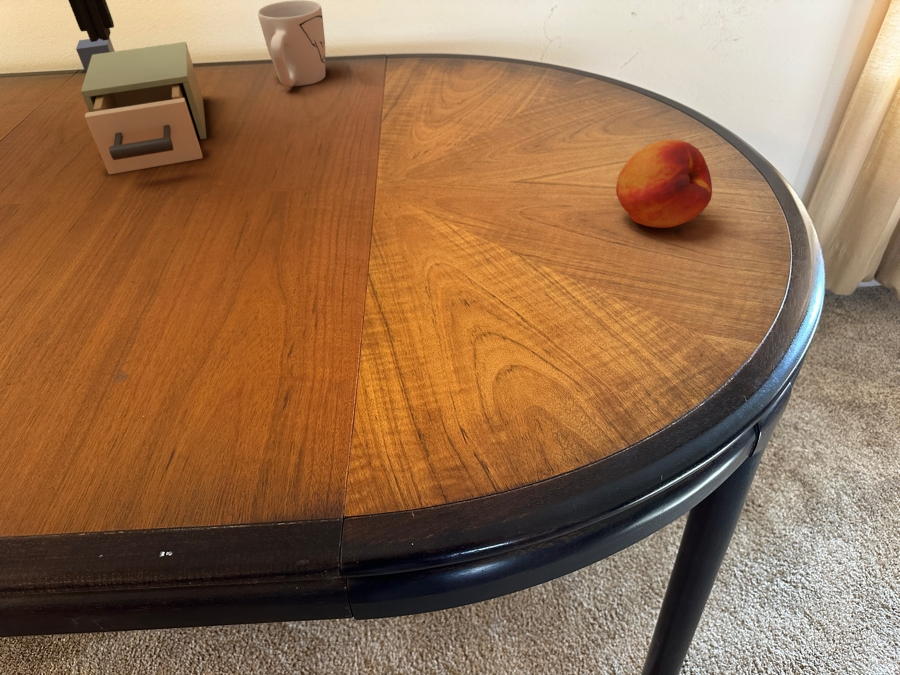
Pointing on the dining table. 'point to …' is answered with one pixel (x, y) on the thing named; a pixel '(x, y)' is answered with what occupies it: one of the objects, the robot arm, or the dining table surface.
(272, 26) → the mug
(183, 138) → the drawer
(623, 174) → the fruit
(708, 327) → the dining table surface
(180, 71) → the cabinet
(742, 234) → the dining table surface
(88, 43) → the block
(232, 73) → the dining table surface
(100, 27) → the robot arm
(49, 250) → the dining table surface
